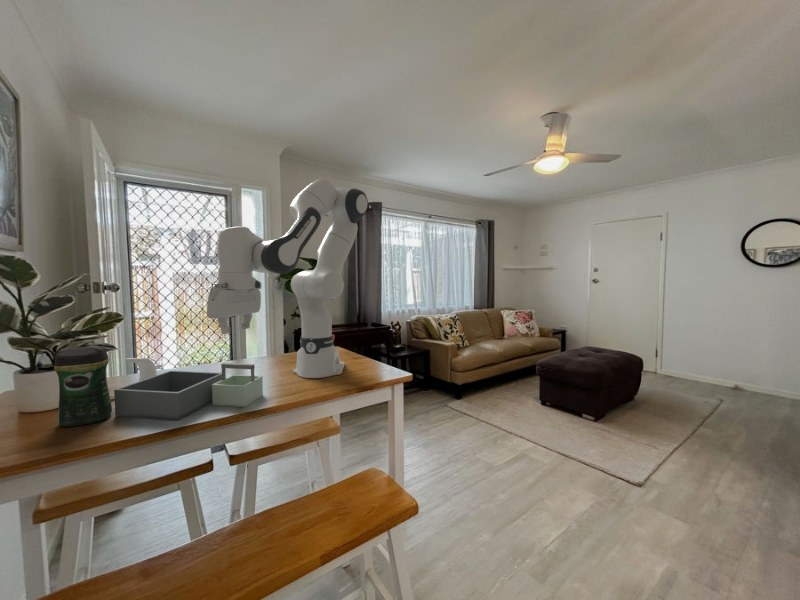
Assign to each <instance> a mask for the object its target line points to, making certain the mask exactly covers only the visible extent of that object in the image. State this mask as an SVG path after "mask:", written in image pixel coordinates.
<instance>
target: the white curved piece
mask: <svg viewBox="0 0 800 600" xmlns="http://www.w3.org/2000/svg"><path fill="white" fill-rule="evenodd" d="M125 362H133V363H134V364H135V365H137V367H138V369H139V380H138V382H139V381H142V380H145V379H148V378H150V377H153V376H156V375H158V374H157V366H156V365H155V363H154V362H153V360H151V359H150V358H148V357H147V358H146V357H136V358H135V357H127V358H125Z"/></svg>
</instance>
